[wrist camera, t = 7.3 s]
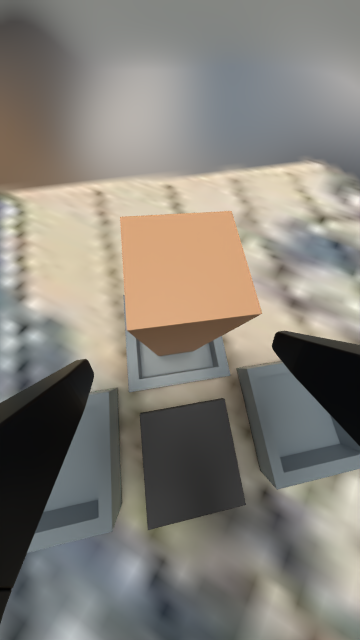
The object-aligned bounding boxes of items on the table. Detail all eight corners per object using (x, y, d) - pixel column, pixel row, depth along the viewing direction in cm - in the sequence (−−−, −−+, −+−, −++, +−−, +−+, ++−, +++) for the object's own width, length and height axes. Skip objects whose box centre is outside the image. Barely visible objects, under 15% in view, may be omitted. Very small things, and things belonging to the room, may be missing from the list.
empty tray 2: (347, 450, 17) (376, 464, 14) (260, 470, 16) (276, 489, 13) (313, 355, 20) (333, 354, 17) (236, 368, 18) (247, 368, 16)
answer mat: (242, 499, 15) (245, 504, 15) (148, 523, 14) (147, 530, 14) (222, 398, 17) (224, 399, 17) (140, 412, 17) (139, 414, 16)
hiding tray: (222, 374, 18) (230, 375, 16) (134, 388, 17) (128, 392, 15) (206, 295, 21) (210, 286, 18) (129, 303, 20) (123, 295, 17)
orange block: (193, 351, 18) (262, 313, 5) (158, 356, 18) (126, 330, 4) (187, 317, 19) (230, 207, 6) (154, 321, 19) (119, 213, 5)
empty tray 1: (121, 503, 14) (112, 531, 12) (1, 532, 13) (-35, 568, 11) (117, 387, 17) (108, 391, 15) (16, 403, 16) (-11, 411, 14)
